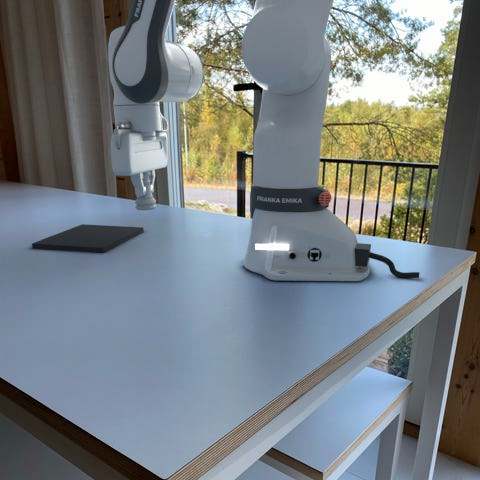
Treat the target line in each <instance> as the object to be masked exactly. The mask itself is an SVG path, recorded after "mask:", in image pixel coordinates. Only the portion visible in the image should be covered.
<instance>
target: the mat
mask: <svg viewBox="0 0 480 480" xmlns="http://www.w3.org/2000/svg"><path fill="white" fill-rule="evenodd" d="M144 230H145V229H144V227H141V226H125V225H124V226H122V225H104V224H103V225H102V224H85V223H84V224H79V225H77V226H74V227H71V228H69V229H66V230H63V231H61V232H58V233H56V234H53V235H51V236H48V237H46V238H42V239H40V240H37V241H34V242H32V243H31V248H32V249H40V250H56V251H68V252H88V253H101V254H104V253H106V252H108V251H110V250H112V249H113V248H115V247H118V246H119V245H121V244H123V243H126V242H128V240H130V239H132V238H134V237H136V236H138V235H140V234H142V233H144Z"/></svg>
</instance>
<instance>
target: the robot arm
mask: <svg viewBox="0 0 480 480" xmlns="http://www.w3.org/2000/svg"><path fill="white" fill-rule="evenodd" d="M176 2H177V1H176V0H132V2H131V6H130V10H129V14H128V17H127V21H126V22H125V23H126V24H123V25H119V26H117V27H116V28H114V29H113V30H112V31H111V33H110V35H109V38H108V45H107V56H108V57H107V59H108V70H109V72H108V73H109V80H110V81H109V82H110V84H111V86H112V90H113V101H112V106H113V116H114V124H115V128H114V129H113V134H112V135H111V138H110V159H111V169H112V173H113V174H114V176H116V177H129V176H130V181H131V183H132V185H133V188H134V193H135V194H134V195H135V196H136V197H137V196H145V195H146V187H144V184H143V180H142V179H143V173H144V172H148V171H149V172H150V173H151V174H150V176H149V180H150V189H151V193H152V194H153V193H154V192H155V189H154V183H155V179H156V170H159V169H163V168H167V165H168V162H169V144H168V143H169V141H168V136H167V135H168V134H167V132H168V131H169V120H167V119H166V117H164V115H163V114H162V112H161V108H160V107H161V106H160V103H183V102H186V101H190V100H192V99H194V98H195V97H196V96H197V95H198V93H199V92H200V90H201V88H202V85H203V83H204V67H203V63H202V60H201V58H200V56H199V54H198V53H197V52H196V51H195V50H194V49H193V48H191V47H189V46H187V45H184V44H181V43H178V42H175V41H172V40H170V39H167V38H166V36H167V32H168V28H169V25H170V22H171V18H172V15H173V10H174V8H175V4H176ZM333 3H334V0H255V2H254V6H253V10H252V14H251V18H250V20H249V22H248V24H247V25H246V27H245V29H244V31H243V35H242V39H241V56H242V61H243V63H244V66H245V69H246V70H247V72H248V74H249V76H250V77H251V79H252V80H253V81H254V82H255V83H256V85H258V86H259V87H260V88H261V89H262V94H261V102H260V108H259V113H258V114H259V115H258V120H257V125H256V129H255V131H254V134H253V169H252V170H253V173H252V174H253V176H252V177H253V179H252V181H253V183H252V185H250V192H249V213H250V215H249V216H250V219H251V224H250V231H249V238H248V244H247V247H246V248H247V249H246V253H245V257H244V259H243V262H242V265H243V267H244V268H245V269H247V270H248V271H250V272H253V273H256V274H259V275H262V276H263V277H265V279H266V278H267V279H268V280H270V281H280V282H281V281H290V282H291V281H293V282H295V281H298V282H360V281H363V280H366V279H367V278H368V276H369V275H370V273H371V271H370V270H371V268H370V267H371V266H370V265H371V264H370V260H371V259H372V260H375V261H378V262H382V263H383V264H385V265H386V266H387V267H388V269H389V272H390V273H391V274H392V276H394V277H397V278H399V279H420V275H421V274H420V273H421V272H419V271H409V272H402V271H399V270H398V269H396V266H395V263H394V262H393V260H391V259H390V258H389V257H386V256H384V255H382V254H378V253H375V252H373V251H371V249H372V244H370V243H361V242H360V243H359V242H358V239H357V236H356V233H355V232H354V230H353V229H352V228H351V227H350V226H348V224H346V223H345V222H344V221H343V220H342V219H341V218H339V217H338V216H337V215H336V214H334V213H333V212H332V211H331V210H330V209H329V206H330V203H331V201H332V194H331V193H330V191H329V190H328V189H326V188H325V187H322V186H321V185H319V178H320V163H321V147H322V136H323V127H324V121H325V115H326V107H327V100H328V93H329V83H330V75H331V74H330V73H331V65H332V50H331V45H330V42H329V40H328V38H327V36H326V32H327V26H328V21H329V18H330V14H331V10H332V7H333Z"/></svg>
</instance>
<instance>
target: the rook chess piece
mask: <svg viewBox="0 0 480 480" xmlns="http://www.w3.org/2000/svg"><path fill="white" fill-rule="evenodd" d="M150 174H151V173H150V172H149V171H148V172H144V173H143V179H142V180H143V184H144V187H146V195H145V196H136V199H135V202H134V204H136V206H135V210H138V211H152V210H155V209H156V208H157V204H156V203H157V200H156V199H155V197H154V195H153V193H151V189H150V180H149V176H150Z"/></svg>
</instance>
